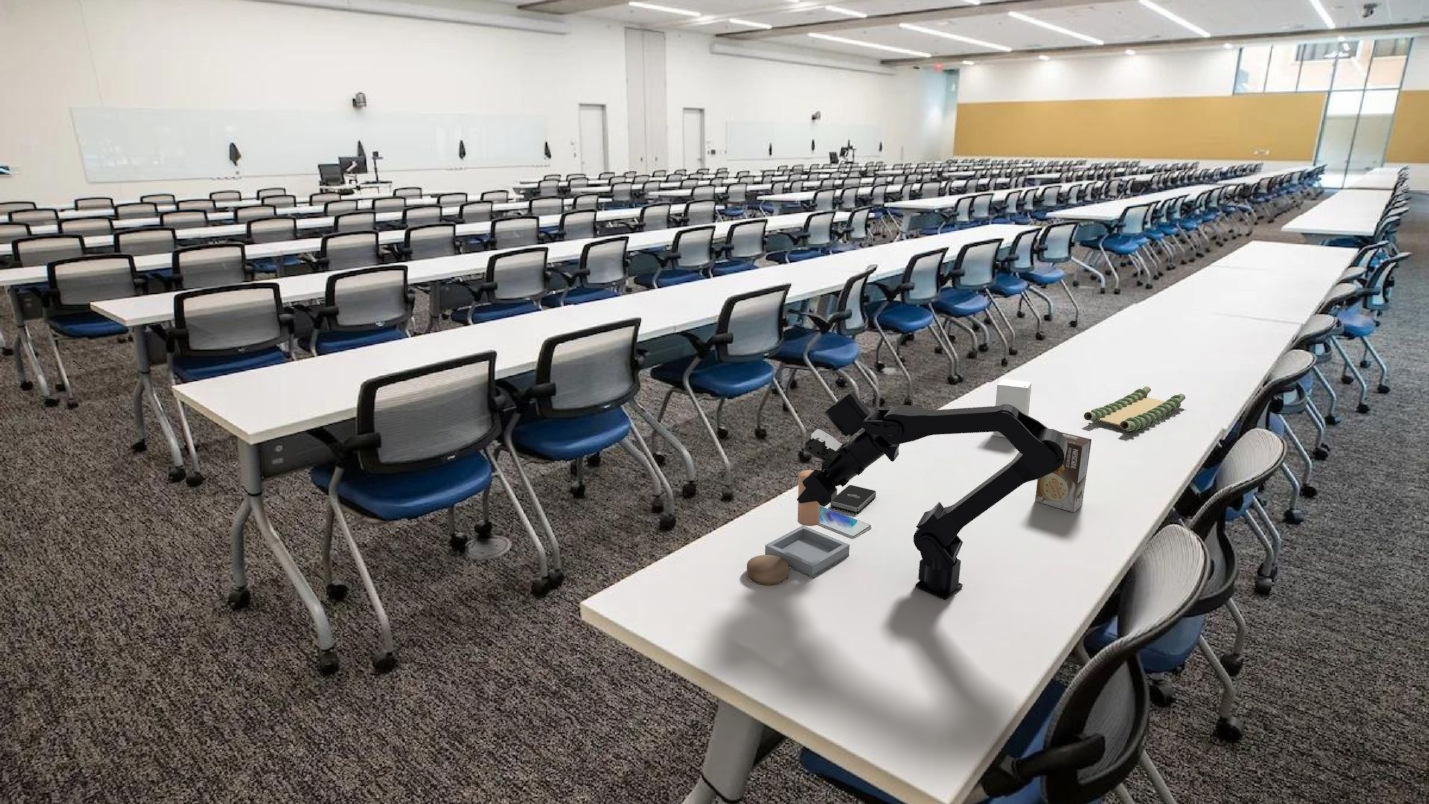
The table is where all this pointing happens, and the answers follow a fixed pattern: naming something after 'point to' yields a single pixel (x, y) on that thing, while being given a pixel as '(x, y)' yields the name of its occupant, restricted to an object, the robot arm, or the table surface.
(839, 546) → the tray
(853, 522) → the smartphone
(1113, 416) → the stretcher
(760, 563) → the brown stone
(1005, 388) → the skincare box
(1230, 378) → the table surface
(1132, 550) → the table surface
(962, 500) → the robot arm
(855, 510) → the external hard drive
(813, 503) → the peach stamp handle
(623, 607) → the table surface
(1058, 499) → the coffee box
